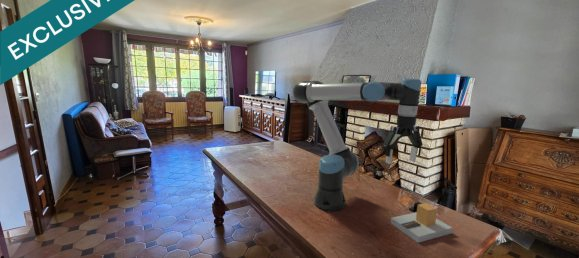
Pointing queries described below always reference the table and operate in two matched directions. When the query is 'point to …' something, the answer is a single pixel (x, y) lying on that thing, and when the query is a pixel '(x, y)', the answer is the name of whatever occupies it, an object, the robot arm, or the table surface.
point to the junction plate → (420, 228)
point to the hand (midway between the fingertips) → (400, 162)
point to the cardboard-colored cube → (426, 214)
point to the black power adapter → (414, 209)
